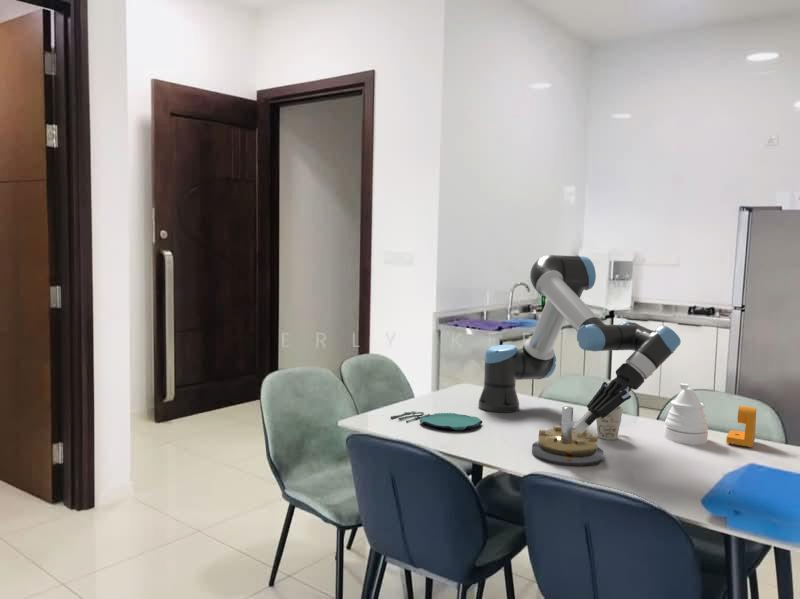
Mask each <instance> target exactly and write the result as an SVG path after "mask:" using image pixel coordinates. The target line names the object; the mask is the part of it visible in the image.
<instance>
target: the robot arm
mask: <svg viewBox="0 0 800 599" xmlns="http://www.w3.org/2000/svg"><path fill="white" fill-rule="evenodd" d="M594 265H595V264H594V262H592V260H591V259H590V258H589V257H587V256H582V255H576V254H575V255H557V254H556V255H555V254H549V255H547V254H546V255H545V256H542V257H540V258H538V259H537V260H536V261H535V262H534V264H533V265H532V267H531V269H530V276H529V277H530V282H531V285H532V286H533V288H534V289H535V291H536V292H537V293H538V295H540V296H542V297H546V302H545V305H544V307H543V309H542V311H541V314H540V316H539V318H538V321H537V323H536V325H535V328H534V331H533V333H532V335H531V337H530V338H529V339H526V340H525V341H524V344H523V346H522V348H518V347H517V346H516V345H514V344H499V345H498V344H497V345H493V346H490V347H488V348H487V349H486V350H485V356H484V374H483V375H484V376H483V378H484V379H483V380H484V381H483V384H484V385H483V388H482V390H481V394H480V395H479V396H480V397H479V399H478V408H479V409H481V410H483V411H486V412H487V411H488V412H494V413H513V412H517V411H519V409H520V400H519V397H518V394H517V390H516V382H517V380H518V381H519V380H521V381H522V380H523V381H524V380H543V379H547V378H550V377H551V376H552V374H554V372H555V370H556V366H557V364H556V363H557V357H556V354H555V350H554V345H555V344H556V341H557V339H558V336H559V335H560V333H561V330H562V328H563V326H564V324H565V321H567V322H568V323H569V324H570V326H571V327H572V328H573V329H574V330H575V331H576V341H577V342H578V346H579V348H580V349H582V350H583V351H587V352H588V351H589V352H605V351H606V352H607V351H609V352H610V351H633V353H631V355H629V357H628V358H627V359H626V360H625V362H624V363H622V364H621V365H620V366H619V367H618V368H617V369H616V371H615V375H616V377H615V378H614V379H612V380H611V381H610V382H606V381H604V382H603V383H602V384H601V385H600V386H601V387H600V388H599V389H598V391H597V392H596V394H595V395H594V396H593V397H592V399H591V400H590V401H589V402H588V404H586V408H587V411H586V412H585V413H584V415H582V416H581V417H580V418H579V420H578V421H577V422H576V423H574V425H572V429H573V430H574V431H577V432H578V433H579V434H580V435H581V434H582V433H583V432H584V431H585V430H588V429H589V427H590V426H591V425H592V424H593V423H594V422H595V421H596V419H597V418H600V417H602V418H604V417H606V416H607V415H608V414H609V413H611V412H612V411H613V410H614V409H616V408H617V407H618V406H621V405H622V404H623V403H624V402H626V401H628V400H630V399H631V398H632V395H630V392H631V390H633V391H635V390H638V389H639V388H640V387H641V386H642V385H643V384H644V383H645V380H647V379H648V378H649V377H652V375H653V373H654V372H655V371H656V370H657V369H659V367H660V366H661V365H662V364H663V363H664V362H665V361H667V359H668V358H669V357H670V356H672V355H673V354H674V352H675V351H676V350H677V348H678V347H679V346H680V345H681V341H682V340H681V338H680V336H679V335H678V334H677V333H676V332H675V331H674V330H673V329H671V328H670V327H668V326H666V325H660V326H658V327H657V328H656V329H655V330H652V329H650V328H647V327H645V326H643V325H640V324H639V323H636V322H631V321H628V320H625V321H622V322H621V323H619V324H607V323H606V324H605V323H604V322H603V321H602V319H600V317H598V315H596V313H594V311H592V309H591V308H590V307H589V306H588V305H587V304H586V303H585V302H584V301H583V300H582V299H581V297H582V294H583V292H584V291H588V290H591V289H593V287H594V285H595V283H596V278H597V276H596V275H597V273H596V268H595V266H594Z"/></svg>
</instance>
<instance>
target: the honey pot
mask: <svg viewBox="0 0 800 599" xmlns="http://www.w3.org/2000/svg"><path fill="white" fill-rule="evenodd" d="M679 386H680V389H681V391H680V392H679V393H678V395H676V398H675V399H673V400H671V402H670V405H671V408H670V409H669V411H668V414H667V417H666V419H665V420H664V431H663V437H664V438H665V439H666V440H669V441H671V442H673V441H674V442H673V443H677V442H679V443H678V444H683V443H685V445H692V444H700V445H705V444H707V443H708V433H709V430H708V428H709V425H708V423H707V419H706V414H705V412H704V408H705V404H704V403H702V402H701V401H700V398H699V396H698V395H697V392H695V390H694V389H692V388H690V387H689V386H690V385H689V383H679Z"/></svg>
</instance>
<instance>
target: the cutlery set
mask: <svg viewBox="0 0 800 599" xmlns="http://www.w3.org/2000/svg"><path fill="white" fill-rule="evenodd" d="M412 417H413V418H412ZM397 418H398V421H402V420H404V419H408V418H411V419H409V420H406V421H405V422H406V423H409V422H411V421H413V420H419V423H420V425H422V423H423V424H426V426H427V425H428V426H429V427H430V426H432V427H434V428H440V429H448V430H449V429H451V430H455V431H463V430H465V429H471V428H475V427H478V426H479V425H481V424H482V423H483V420H482V419H480V418H479V417H477V416H472V415H466V414H460V413H459V414H458V413H454V412H446V413H445V412H438V413H434V414H430V413H427V414H425V412H422V411H415V410H414V411H413V410H412V411H407V412H406V411H405V412H403V413H402V414H398V415H391V416H390V420H393V419H397Z"/></svg>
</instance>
